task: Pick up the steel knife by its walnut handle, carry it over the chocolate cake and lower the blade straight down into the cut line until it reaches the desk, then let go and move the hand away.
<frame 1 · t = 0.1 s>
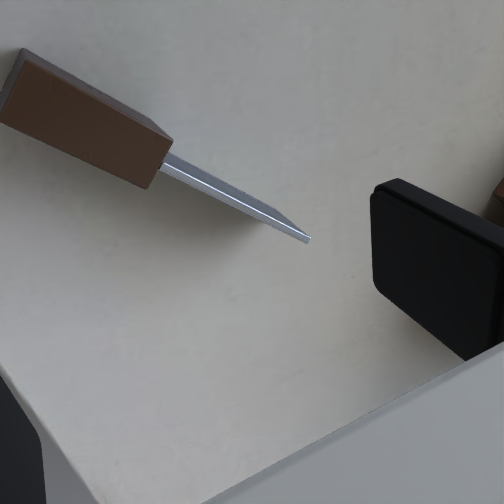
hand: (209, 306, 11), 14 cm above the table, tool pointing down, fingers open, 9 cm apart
knife: (157, 150, 24), on the table
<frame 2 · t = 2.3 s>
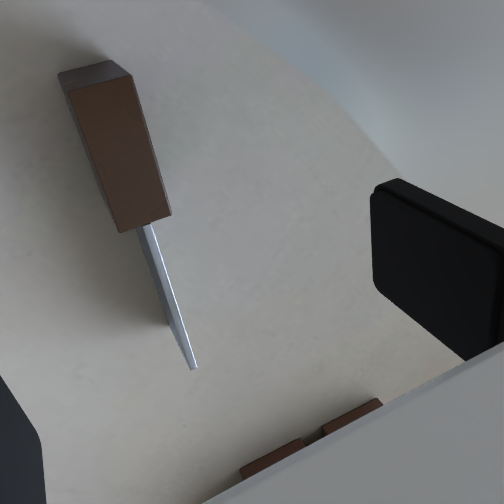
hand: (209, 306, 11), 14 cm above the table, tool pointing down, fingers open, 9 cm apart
cake: (317, 476, 43), on the table
knife: (133, 209, 24), on the table
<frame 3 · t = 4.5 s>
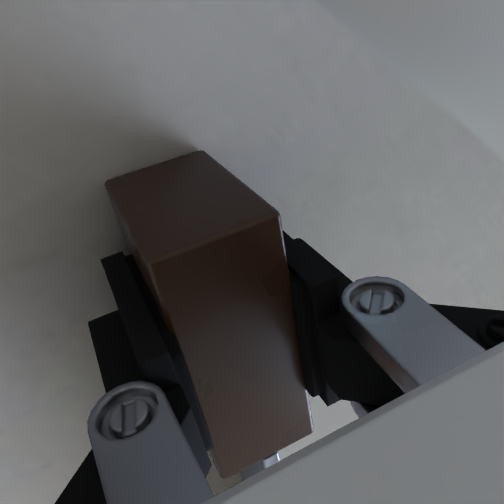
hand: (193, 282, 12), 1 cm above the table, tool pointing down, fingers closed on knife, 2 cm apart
knife: (217, 375, 15), on the table, touching gripper
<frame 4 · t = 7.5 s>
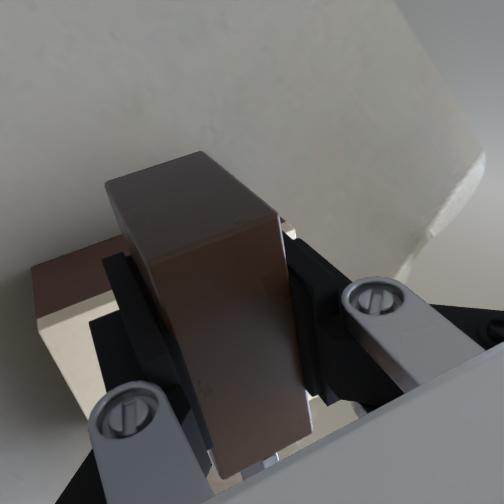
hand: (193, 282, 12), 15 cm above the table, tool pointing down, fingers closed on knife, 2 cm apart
cake: (174, 311, 31), on the table
knife: (217, 375, 15), point 15 cm above the table, touching gripper
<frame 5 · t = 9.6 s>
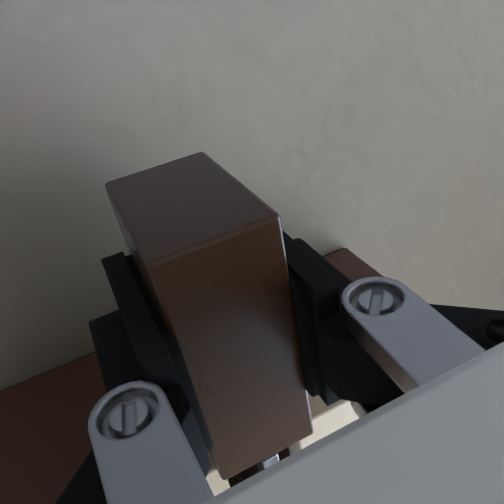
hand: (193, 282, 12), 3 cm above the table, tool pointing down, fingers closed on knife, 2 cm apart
cake: (223, 431, 20), on the table
knife: (217, 376, 15), point 3 cm above the table, touching gripper
when the fingers open (1 cm above the table, at t = 10.6 s): knife stays where it is, on the table.
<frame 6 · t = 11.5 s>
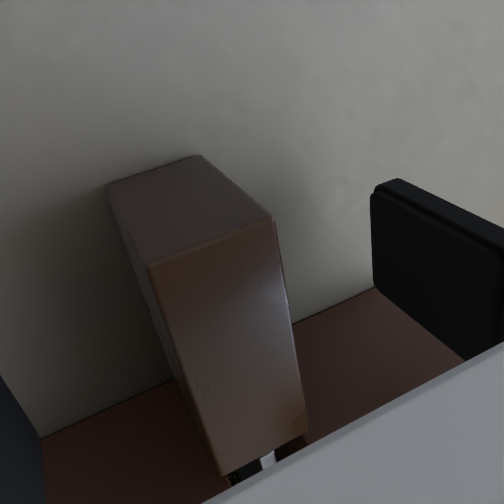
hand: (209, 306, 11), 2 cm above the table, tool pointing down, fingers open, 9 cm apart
cake: (248, 483, 18), on the table
knife: (215, 375, 15), on the table
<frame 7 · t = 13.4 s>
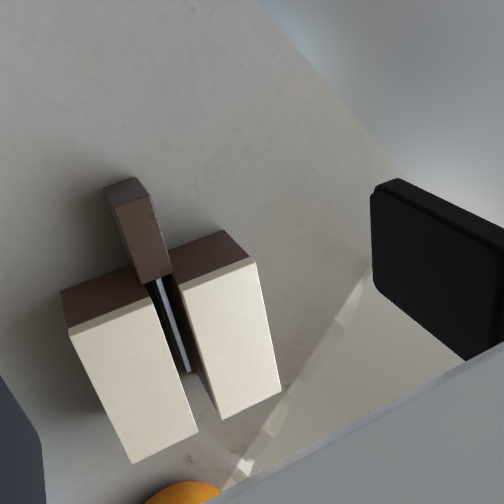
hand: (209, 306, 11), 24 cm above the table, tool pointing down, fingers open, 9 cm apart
cake: (168, 324, 40), on the table
fruit: (169, 502, 50), on the table
knife: (148, 265, 37), on the table
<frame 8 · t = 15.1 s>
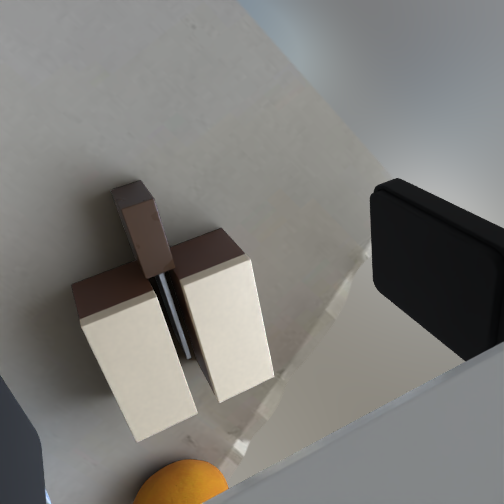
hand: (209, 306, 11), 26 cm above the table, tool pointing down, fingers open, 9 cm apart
cake: (170, 314, 43), on the table
fruit: (170, 479, 53), on the table
knife: (151, 260, 40), on the table
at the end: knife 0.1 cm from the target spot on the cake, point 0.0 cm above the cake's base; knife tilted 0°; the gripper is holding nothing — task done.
